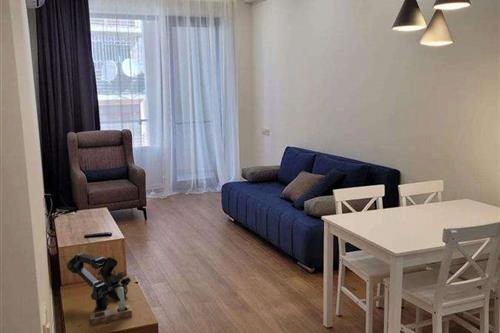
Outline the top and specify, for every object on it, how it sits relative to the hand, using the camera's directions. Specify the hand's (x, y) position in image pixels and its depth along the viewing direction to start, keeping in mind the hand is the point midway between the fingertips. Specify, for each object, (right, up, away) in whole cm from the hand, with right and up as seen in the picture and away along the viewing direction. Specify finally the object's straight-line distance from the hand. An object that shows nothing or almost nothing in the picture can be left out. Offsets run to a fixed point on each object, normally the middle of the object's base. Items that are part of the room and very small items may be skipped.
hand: (122, 299), depth 250 cm
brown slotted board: (-6, -10, 0) cm, 11 cm away
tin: (-11, -6, +26) cm, 29 cm away
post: (-1, -6, +2) cm, 7 cm away
